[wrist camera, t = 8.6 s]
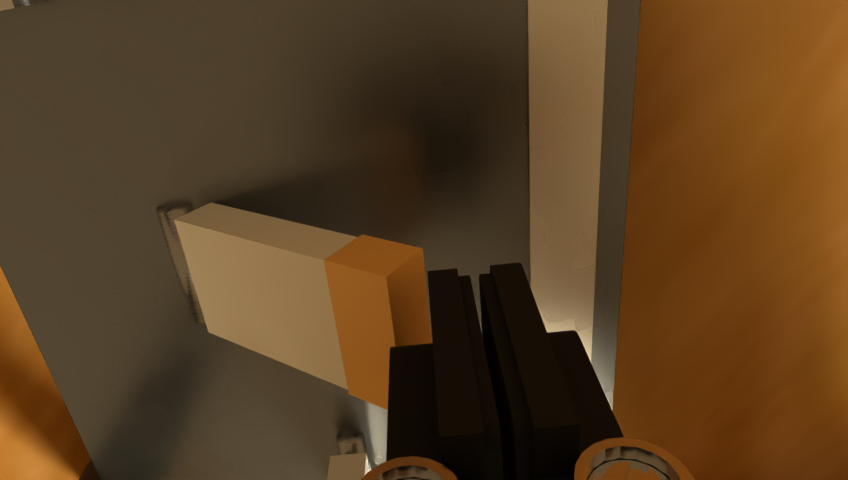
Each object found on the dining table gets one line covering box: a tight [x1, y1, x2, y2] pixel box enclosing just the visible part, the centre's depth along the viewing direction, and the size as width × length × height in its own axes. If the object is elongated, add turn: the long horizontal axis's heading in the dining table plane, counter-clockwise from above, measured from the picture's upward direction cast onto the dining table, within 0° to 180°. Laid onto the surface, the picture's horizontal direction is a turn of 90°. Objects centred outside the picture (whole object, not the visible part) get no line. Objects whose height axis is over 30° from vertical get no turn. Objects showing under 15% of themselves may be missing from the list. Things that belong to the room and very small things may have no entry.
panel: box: [0, 0, 641, 480], centre depth 15 cm, size 15×18×2 cm
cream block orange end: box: [174, 203, 432, 410], centre depth 13 cm, size 1×3×6 cm
